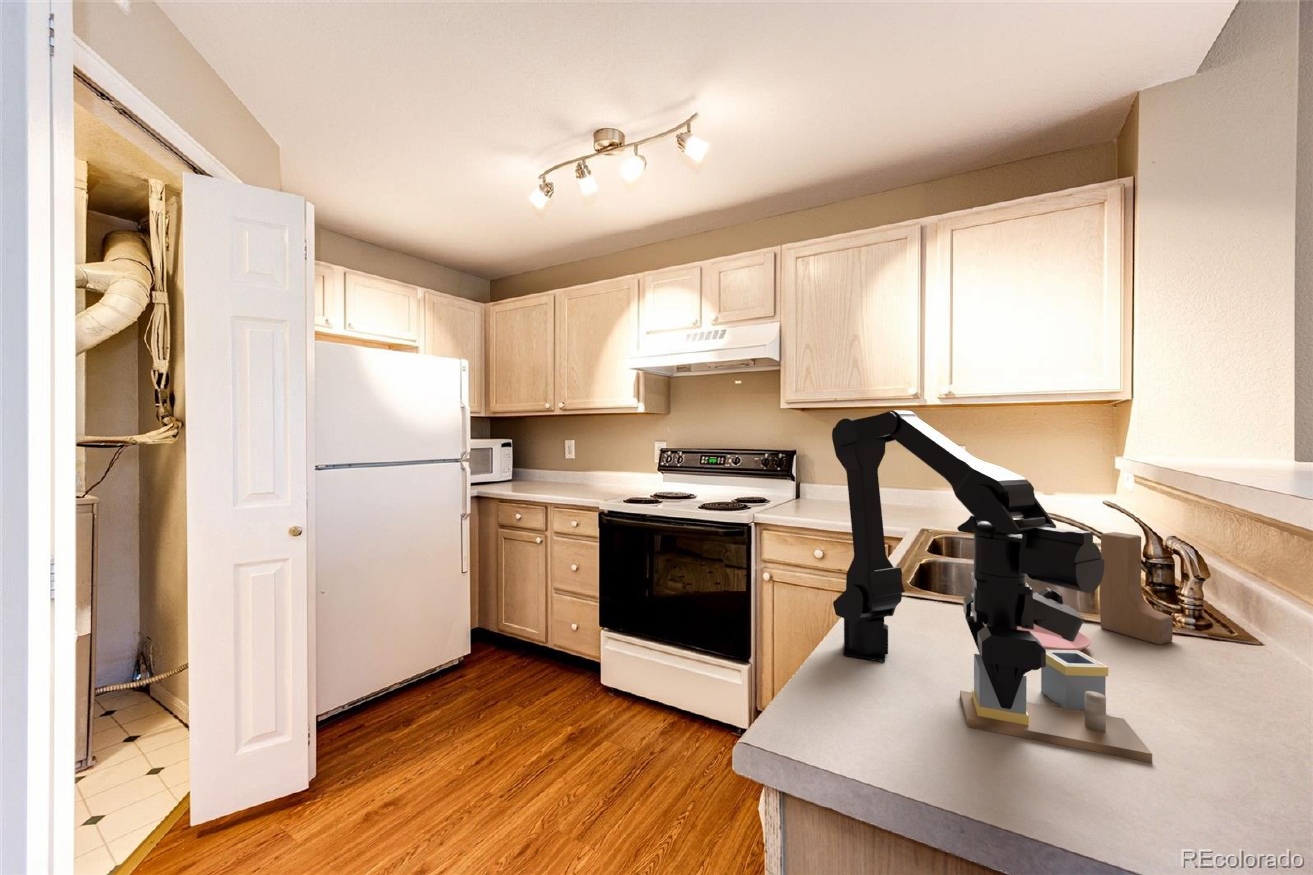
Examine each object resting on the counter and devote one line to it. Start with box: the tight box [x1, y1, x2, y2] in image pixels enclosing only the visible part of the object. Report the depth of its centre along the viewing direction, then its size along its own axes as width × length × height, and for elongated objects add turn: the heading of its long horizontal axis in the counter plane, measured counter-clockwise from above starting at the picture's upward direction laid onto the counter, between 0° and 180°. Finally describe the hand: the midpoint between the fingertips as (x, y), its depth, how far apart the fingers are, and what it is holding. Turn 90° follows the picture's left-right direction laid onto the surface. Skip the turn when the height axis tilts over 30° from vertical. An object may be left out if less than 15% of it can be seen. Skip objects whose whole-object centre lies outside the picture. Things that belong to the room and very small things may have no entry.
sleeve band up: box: [1040, 650, 1109, 712], centre depth 73 cm, size 5×5×6 cm
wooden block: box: [1099, 531, 1174, 646], centre depth 96 cm, size 9×4×18 cm, turn 24°
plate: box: [1017, 624, 1091, 652], centre depth 93 cm, size 14×14×2 cm
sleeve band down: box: [971, 653, 1029, 725], centre depth 69 cm, size 5×5×6 cm
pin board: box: [959, 690, 1153, 764], centre depth 66 cm, size 18×8×5 cm, turn 66°
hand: (998, 691), depth 69 cm, fingers open, 9 cm apart
